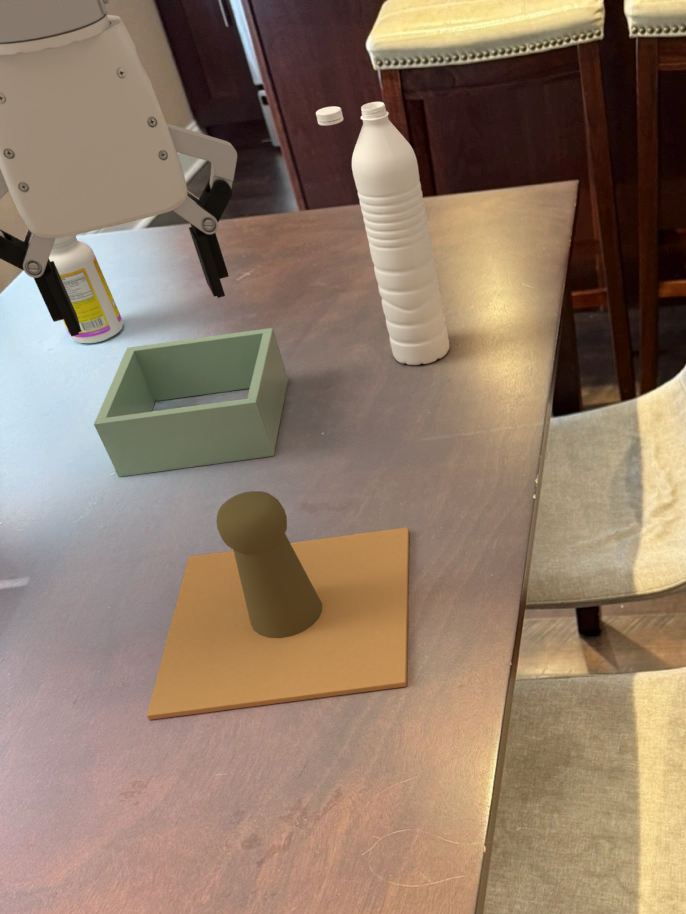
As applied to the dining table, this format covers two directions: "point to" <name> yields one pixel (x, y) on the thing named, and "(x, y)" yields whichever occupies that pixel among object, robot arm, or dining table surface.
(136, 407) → the open box
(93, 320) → the supplement bottle
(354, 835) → the dining table surface
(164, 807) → the dining table surface
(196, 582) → the mat
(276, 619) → the pepper shaker
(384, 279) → the bottle and cap
